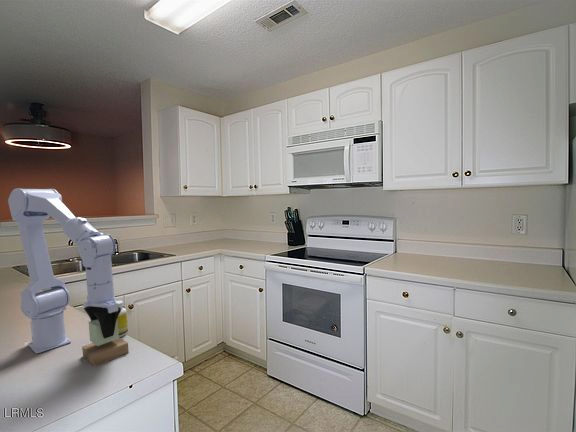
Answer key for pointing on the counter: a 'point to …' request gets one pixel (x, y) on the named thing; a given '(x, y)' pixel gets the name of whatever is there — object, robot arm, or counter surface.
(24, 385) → the counter surface
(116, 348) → the walnut block
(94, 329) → the sage cube
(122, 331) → the supplement bottle
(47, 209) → the robot arm
